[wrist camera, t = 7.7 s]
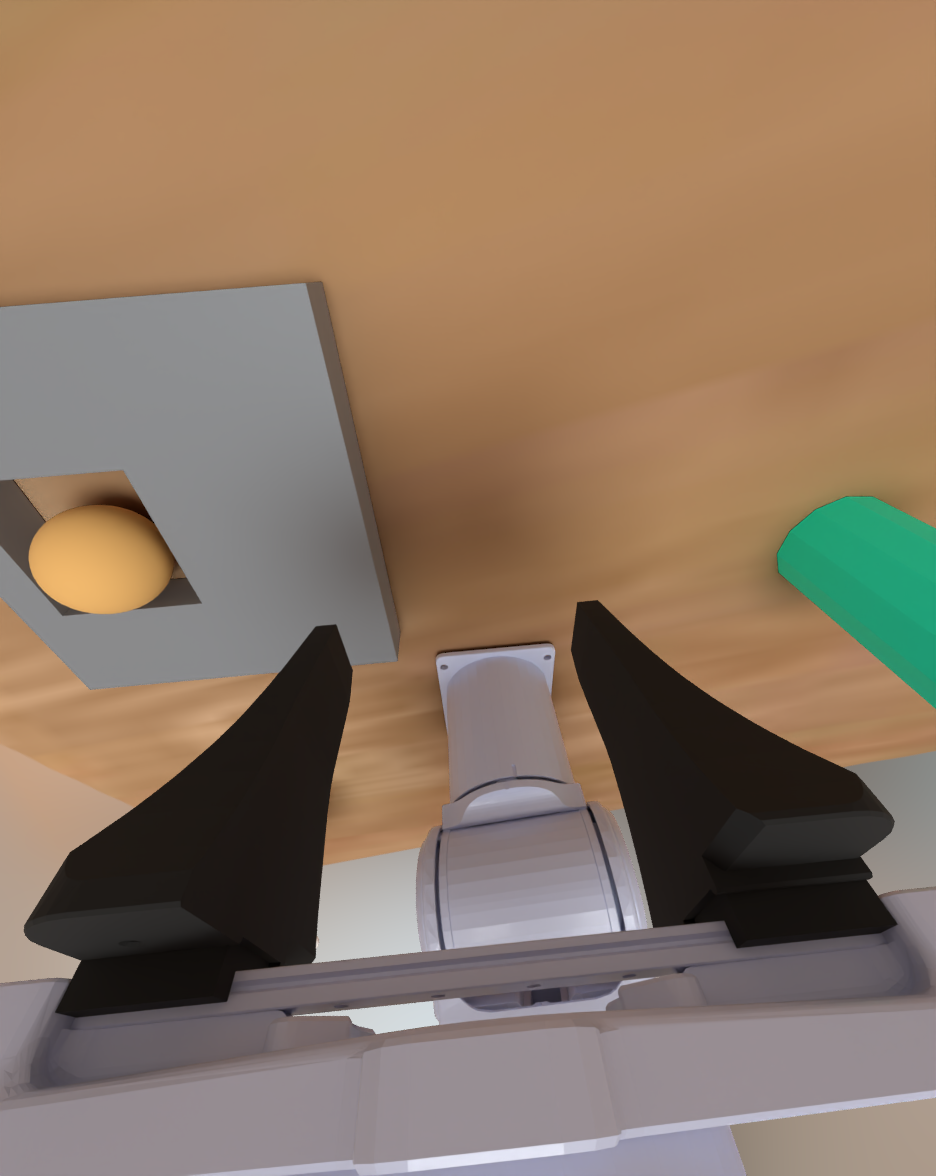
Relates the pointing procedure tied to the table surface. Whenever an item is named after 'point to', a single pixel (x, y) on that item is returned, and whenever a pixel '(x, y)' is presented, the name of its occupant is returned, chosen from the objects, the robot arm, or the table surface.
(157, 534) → the ball
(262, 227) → the table surface
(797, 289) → the table surface
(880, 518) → the candle
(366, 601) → the plate
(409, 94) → the table surface
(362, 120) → the table surface
